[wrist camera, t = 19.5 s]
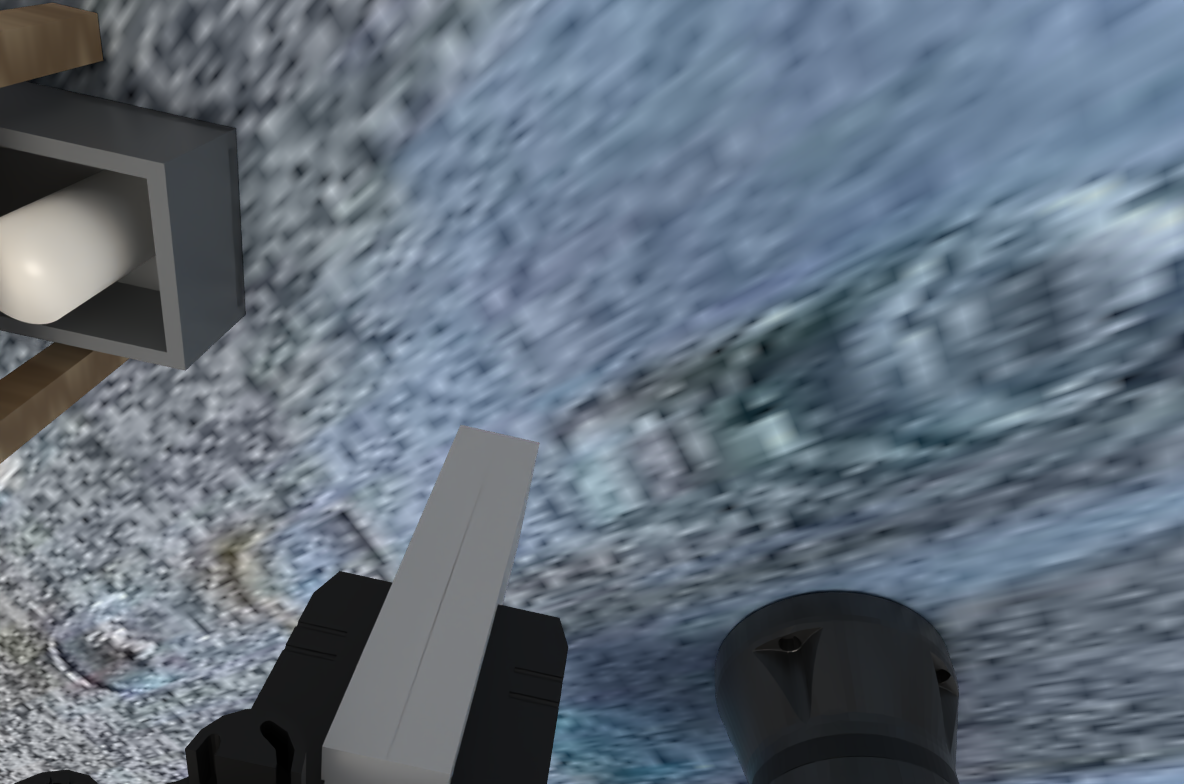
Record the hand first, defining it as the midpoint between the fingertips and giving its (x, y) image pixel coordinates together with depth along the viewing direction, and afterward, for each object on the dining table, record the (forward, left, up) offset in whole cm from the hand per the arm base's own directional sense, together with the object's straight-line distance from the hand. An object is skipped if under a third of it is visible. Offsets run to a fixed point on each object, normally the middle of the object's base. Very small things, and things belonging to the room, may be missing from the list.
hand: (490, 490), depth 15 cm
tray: (-8, +27, -24) cm, 37 cm away
